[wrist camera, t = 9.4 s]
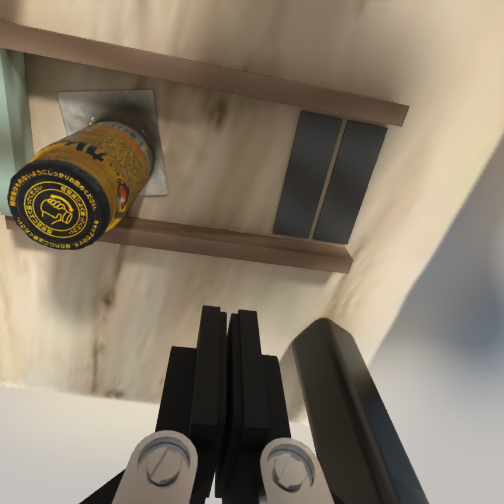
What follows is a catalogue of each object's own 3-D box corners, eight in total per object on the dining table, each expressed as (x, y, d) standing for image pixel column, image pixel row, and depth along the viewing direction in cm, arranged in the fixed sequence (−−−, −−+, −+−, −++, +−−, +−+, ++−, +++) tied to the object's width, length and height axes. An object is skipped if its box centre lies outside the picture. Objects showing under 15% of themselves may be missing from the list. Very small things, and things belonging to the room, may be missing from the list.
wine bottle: (321, 365, 43) (474, 859, 16) (287, 343, 41) (397, 867, 14) (356, 336, 41) (593, 841, 14) (321, 312, 39) (523, 847, 12)
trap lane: (-3, 20, 25) (-30, 15, 22) (395, 102, 29) (412, 107, 26) (22, 217, 31) (3, 231, 29) (340, 260, 36) (349, 276, 33)
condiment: (85, 197, 31) (11, 267, 20) (57, 91, 27) (-52, 111, 16) (168, 193, 31) (139, 261, 21) (153, 88, 27) (107, 106, 17)
